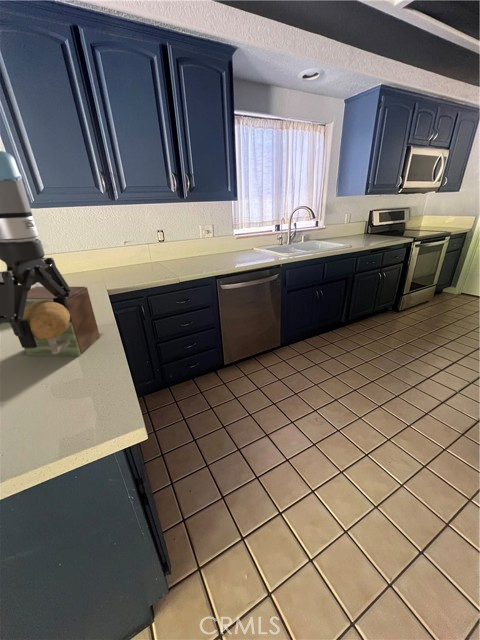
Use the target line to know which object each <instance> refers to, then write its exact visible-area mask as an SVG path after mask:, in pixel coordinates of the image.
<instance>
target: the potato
mask: <svg viewBox="0 0 480 640" xmlns="http://www.w3.org/2000/svg"><path fill="white" fill-rule="evenodd" d="M23 319H27V321H28V323H29V326H30V329H31V331H32V334H33V337H34V338H36V339H52V338H55V337H59V336H60V335H61V334H62V333H63V332H65V331H66V330H67V329H68V328H69V320H70V314H69V311H68V310H67V309H66V308H65V307H64V306H63V305H61V304H59V303H56V302H53V301H50V300H41V301H36V302H34V303H32V304H30V305H29V306H27V308H26V309H25V311H24V315H23Z"/></svg>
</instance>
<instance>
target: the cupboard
mask: <svg viewBox="0 0 480 640" xmlns="http://www.w3.org/2000/svg"><path fill="white" fill-rule="evenodd" d="M33 287H34V286H33ZM69 287H70V292H68V293H70V296H69V297H66V299H67V303H68V309H69V312H70V316H71V319H72V325H73V329H74V332H75V335H76V338H77V342H78V345H79V348H80V352H81V355H83V354H84V353H85V352H86V351H87V350H88V349H89V348H90V347H91V346H92V345H93V344H95V343H96V342H97V341H98V340H99V339H100V338H101V335H100V331H99V328H98V324H97V320H96V317H95V313H94V308H93V305H92V301H91V297H90V293H89V290H88V286H69ZM53 298H57V297H55V296H54V295H53V294H52V293H50V292H49V291H48V290H47V289H46V288H45V287H34V288H32V287H31V289H30V290H29V291H28V294H27V299H53Z"/></svg>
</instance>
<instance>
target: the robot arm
mask: <svg viewBox="0 0 480 640" xmlns="http://www.w3.org/2000/svg"><path fill="white" fill-rule="evenodd" d="M23 181H24V180H23V177H22V174H21V172H20V171H19V168H18V164H17V162H16V160H15V158H14V156H13V155H12V154H11V153H8V152H7V151H3V150H0V261H2V262H4V264H5V265H6V270H3V271H0V324H9V325H10V327H11V330H12V332H13V334H14V336H15V337H17V338H18V341H19V343H20V345H21V348H22V349H24V348H35V347H37V345H36V342H35V339H34V337H33V334H32V331H31V329H30V326H29V323H28V321H27V319H23V315H24V310H25V305H26V299H27V294H28V291H29V290H30V289H32V287H33V286H35V285H36V283H38V282H39V283H40V284H41V285H42V286H44V287H45V288H46V289H47V290H48V291H49V292H50V293H52V294H53V295H54V296H55V297H57V298H53V301H54V302H56V303H59V304H61V305H63V306H64V307H65V308H66V309H67V310H68V311H69V309H68V303H67V299H66V297H69V296H70V293H68V292H70V287H71V286H69V284H68V283H67V281H66V279H65V278H64V277H63V275H62V273H61V272H60V270H59V269H58V267H57V266H56V262H55V260H54V258H53V257H45V255H46V254H45V251H44V247H43V244H42V241H41V240H40V238H37V237H39V232H38V228H37V226H36V223H35V220H34V216H33V212H32V209H31V205H30V202H29V198H28V195H27V191H26V189H25V185H24V182H23ZM15 314H16V316H15ZM69 314H70V312H69ZM71 322H72V319H71V316H70V320H69V323H71Z"/></svg>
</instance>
